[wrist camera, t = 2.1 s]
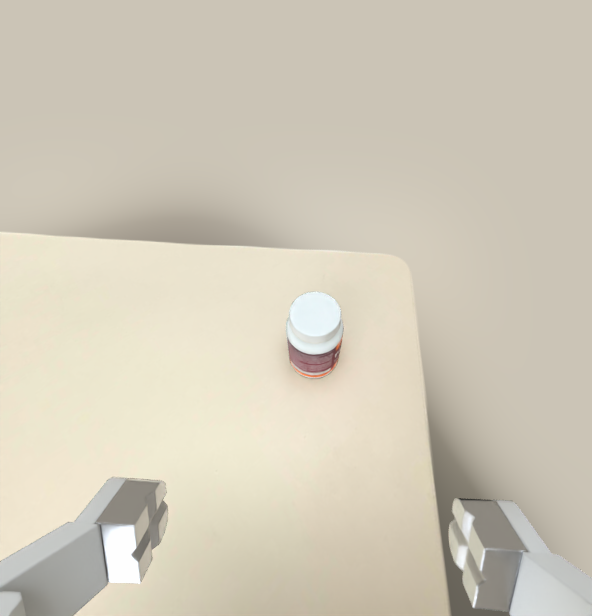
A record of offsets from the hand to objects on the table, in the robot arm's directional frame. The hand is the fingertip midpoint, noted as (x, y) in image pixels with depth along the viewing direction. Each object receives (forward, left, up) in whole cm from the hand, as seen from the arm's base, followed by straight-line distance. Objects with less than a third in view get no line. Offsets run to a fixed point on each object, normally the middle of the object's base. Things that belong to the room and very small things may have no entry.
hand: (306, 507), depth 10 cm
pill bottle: (0, -13, -21) cm, 25 cm away
